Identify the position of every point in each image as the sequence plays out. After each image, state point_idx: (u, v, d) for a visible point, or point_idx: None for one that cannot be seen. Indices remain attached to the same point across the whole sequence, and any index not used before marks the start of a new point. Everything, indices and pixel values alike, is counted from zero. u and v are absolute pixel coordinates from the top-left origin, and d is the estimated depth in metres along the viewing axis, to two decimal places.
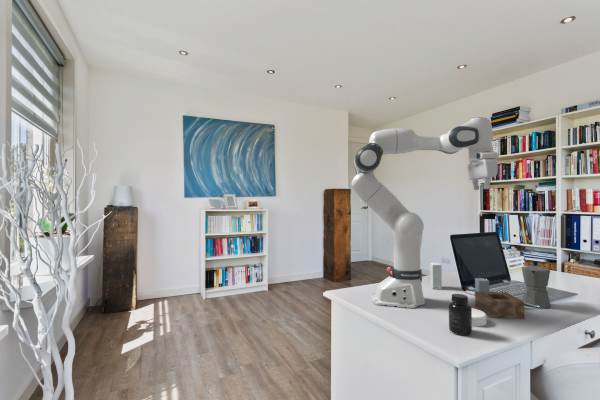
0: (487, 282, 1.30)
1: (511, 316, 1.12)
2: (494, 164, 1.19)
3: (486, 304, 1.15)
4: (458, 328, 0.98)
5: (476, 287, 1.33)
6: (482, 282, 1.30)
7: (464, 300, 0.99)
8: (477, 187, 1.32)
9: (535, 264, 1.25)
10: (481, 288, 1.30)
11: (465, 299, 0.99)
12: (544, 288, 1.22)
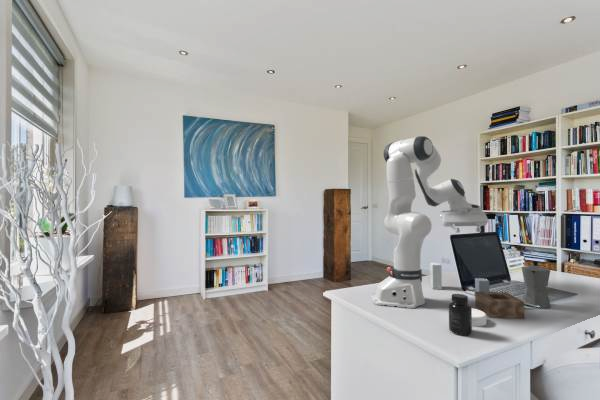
0: (487, 282, 1.30)
1: (511, 316, 1.12)
2: None
3: (486, 304, 1.15)
4: (458, 328, 0.98)
5: (476, 287, 1.33)
6: (482, 282, 1.30)
7: (464, 300, 0.99)
8: None
9: (535, 264, 1.25)
10: (481, 288, 1.30)
11: (465, 299, 0.99)
12: (544, 288, 1.22)
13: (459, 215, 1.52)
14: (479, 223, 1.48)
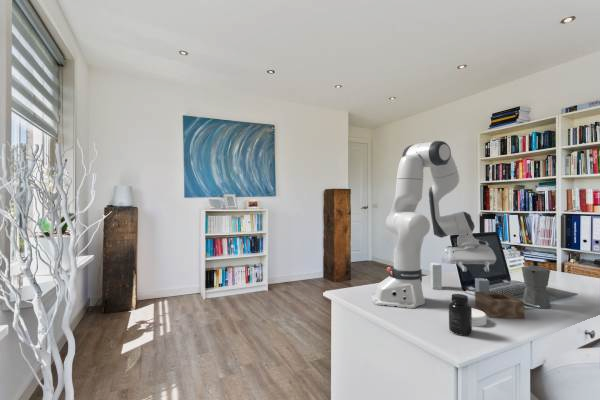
0: (487, 282, 1.30)
1: (511, 316, 1.12)
2: None
3: (486, 304, 1.15)
4: (458, 328, 0.98)
5: (476, 287, 1.33)
6: (482, 282, 1.30)
7: (464, 300, 0.99)
8: None
9: (535, 264, 1.25)
10: (481, 288, 1.30)
11: (465, 299, 0.99)
12: (544, 288, 1.22)
13: (466, 252, 1.43)
14: (487, 262, 1.39)
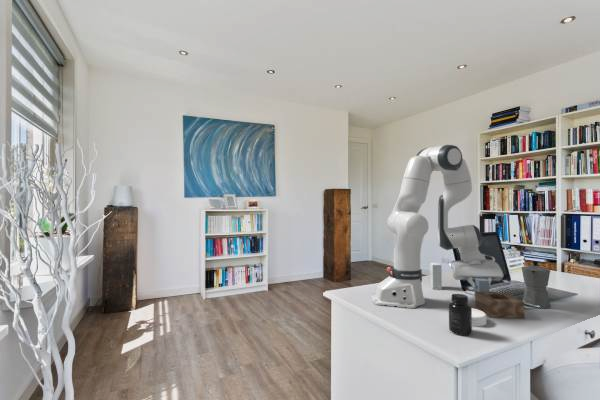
0: (487, 282, 1.30)
1: (511, 316, 1.12)
2: None
3: (486, 304, 1.15)
4: (458, 328, 0.98)
5: None
6: (482, 282, 1.30)
7: (464, 300, 0.99)
8: None
9: (535, 264, 1.25)
10: (481, 288, 1.30)
11: (465, 299, 0.99)
12: (544, 288, 1.22)
13: (471, 267, 1.37)
14: (489, 278, 1.33)
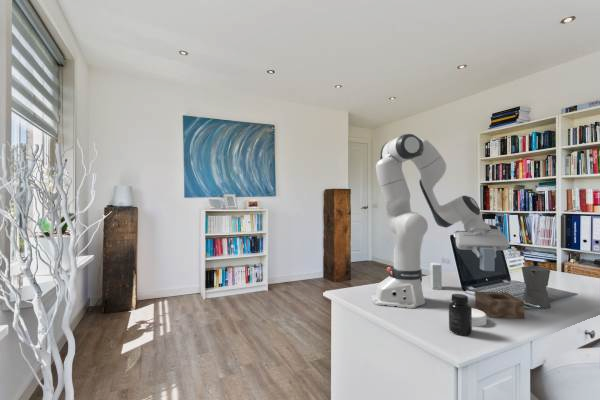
0: (492, 250, 1.24)
1: (511, 316, 1.12)
2: None
3: (486, 304, 1.15)
4: (458, 328, 0.98)
5: None
6: (487, 250, 1.25)
7: (464, 300, 0.99)
8: None
9: (535, 264, 1.25)
10: (486, 256, 1.25)
11: (465, 299, 0.99)
12: (544, 288, 1.22)
13: (476, 237, 1.32)
14: (494, 247, 1.28)
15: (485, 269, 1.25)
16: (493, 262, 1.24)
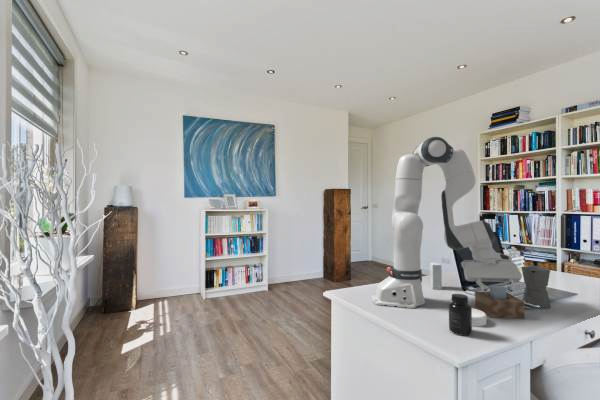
0: (504, 289, 1.16)
1: (511, 316, 1.12)
2: None
3: (486, 304, 1.15)
4: (458, 328, 0.98)
5: (491, 295, 1.19)
6: (498, 289, 1.16)
7: (464, 300, 0.99)
8: None
9: (535, 264, 1.25)
10: (497, 295, 1.16)
11: (465, 299, 0.99)
12: (544, 288, 1.22)
13: (485, 268, 1.23)
14: (511, 280, 1.19)
15: None
16: None
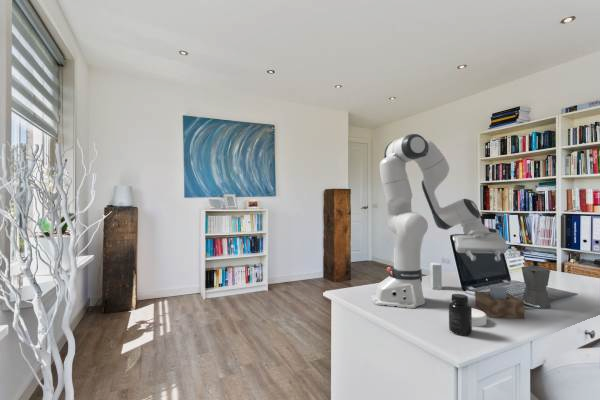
0: (504, 289, 1.16)
1: (511, 316, 1.12)
2: None
3: (486, 304, 1.15)
4: (458, 328, 0.98)
5: (491, 295, 1.19)
6: (498, 289, 1.16)
7: (464, 300, 0.99)
8: None
9: (535, 264, 1.25)
10: (497, 295, 1.16)
11: (465, 299, 0.99)
12: (544, 288, 1.22)
13: (475, 240, 1.33)
14: (498, 250, 1.29)
15: None
16: None
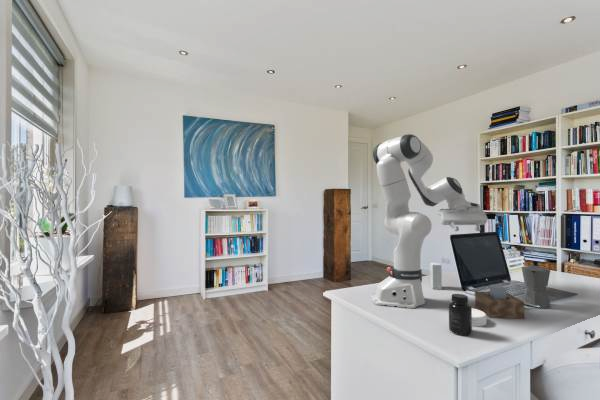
0: (504, 289, 1.16)
1: (511, 316, 1.12)
2: None
3: (486, 304, 1.15)
4: (458, 328, 0.98)
5: (491, 295, 1.19)
6: (498, 289, 1.16)
7: (464, 300, 0.99)
8: None
9: (535, 264, 1.25)
10: (497, 295, 1.16)
11: (465, 299, 0.99)
12: (544, 288, 1.22)
13: (458, 213, 1.47)
14: (478, 222, 1.43)
15: None
16: None
